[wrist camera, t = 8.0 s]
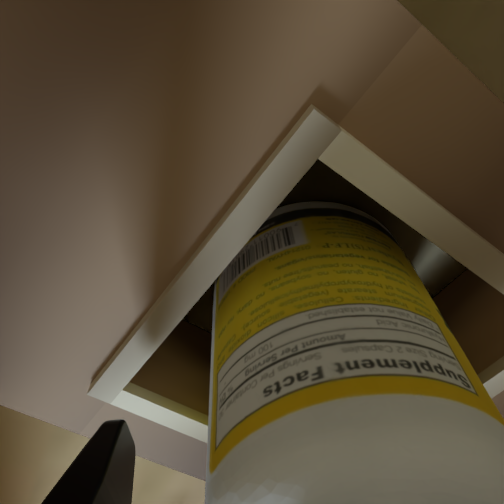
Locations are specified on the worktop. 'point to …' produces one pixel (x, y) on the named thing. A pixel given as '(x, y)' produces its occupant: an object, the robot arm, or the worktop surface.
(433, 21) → the worktop surface
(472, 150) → the block with rectangular hole
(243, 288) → the supplement bottle
